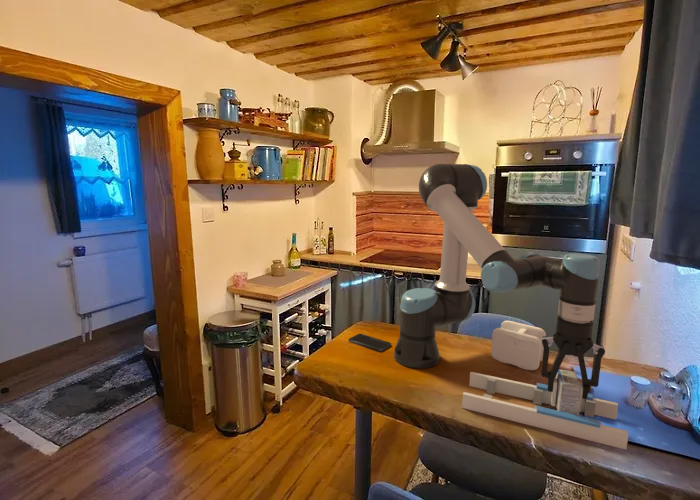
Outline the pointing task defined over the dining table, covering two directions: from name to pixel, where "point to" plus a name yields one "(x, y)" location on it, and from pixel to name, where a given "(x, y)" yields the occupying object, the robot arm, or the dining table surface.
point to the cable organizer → (518, 345)
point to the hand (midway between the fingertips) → (565, 405)
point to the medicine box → (568, 392)
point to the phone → (370, 342)
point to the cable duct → (545, 410)
